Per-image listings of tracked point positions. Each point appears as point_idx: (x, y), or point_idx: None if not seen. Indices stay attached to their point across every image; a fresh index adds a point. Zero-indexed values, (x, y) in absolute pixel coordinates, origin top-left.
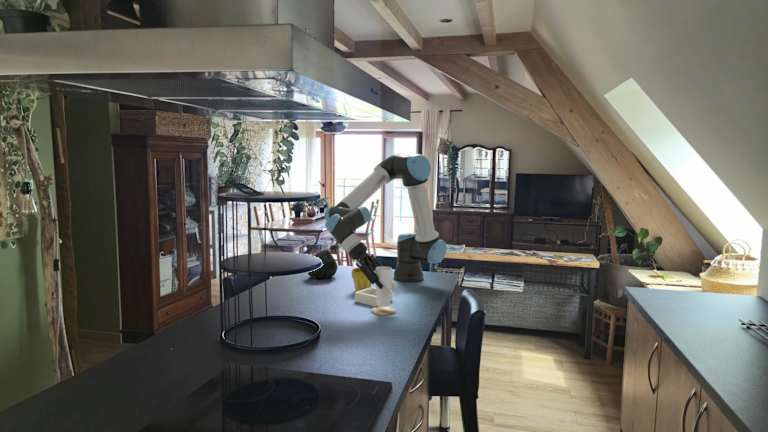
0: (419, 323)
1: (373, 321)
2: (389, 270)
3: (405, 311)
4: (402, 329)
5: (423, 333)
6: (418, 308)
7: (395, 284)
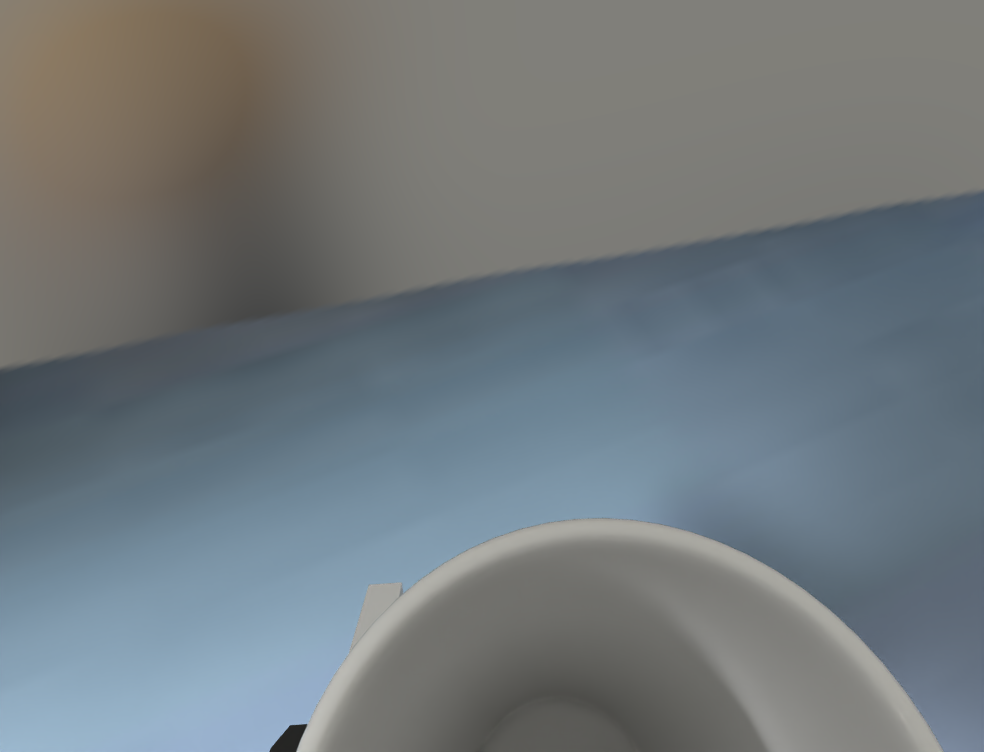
0: (697, 310)
1: (947, 719)
2: (704, 542)
3: (437, 542)
4: (923, 366)
5: (880, 218)
6: (288, 465)
7: (365, 621)
